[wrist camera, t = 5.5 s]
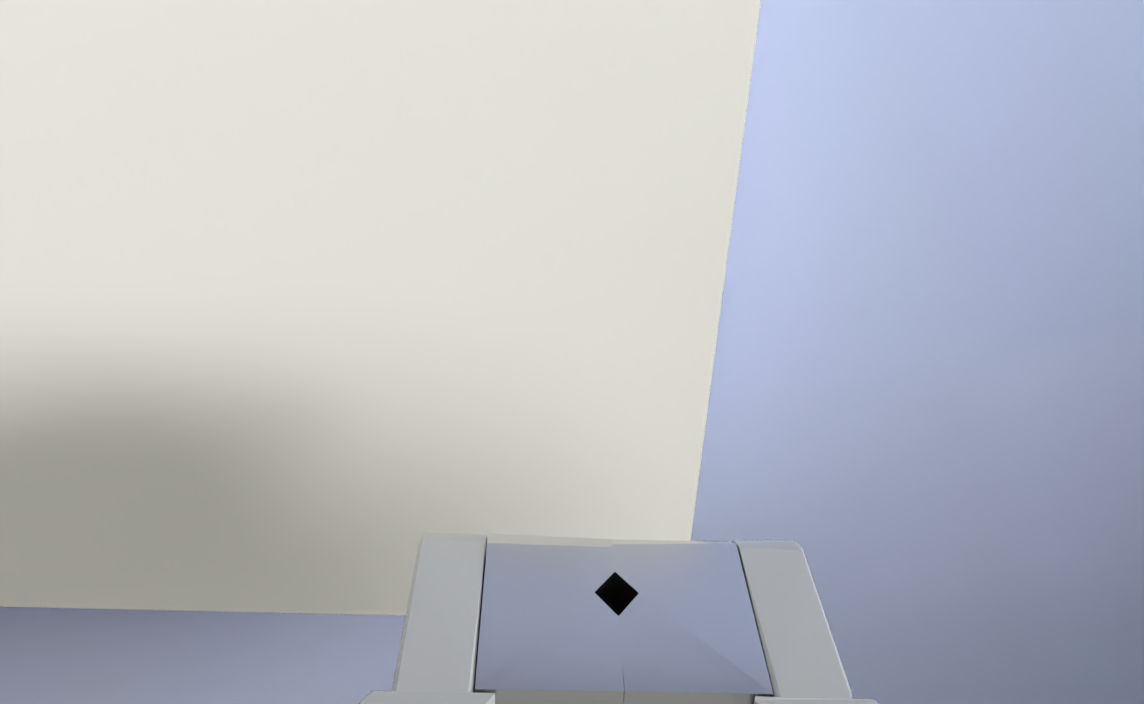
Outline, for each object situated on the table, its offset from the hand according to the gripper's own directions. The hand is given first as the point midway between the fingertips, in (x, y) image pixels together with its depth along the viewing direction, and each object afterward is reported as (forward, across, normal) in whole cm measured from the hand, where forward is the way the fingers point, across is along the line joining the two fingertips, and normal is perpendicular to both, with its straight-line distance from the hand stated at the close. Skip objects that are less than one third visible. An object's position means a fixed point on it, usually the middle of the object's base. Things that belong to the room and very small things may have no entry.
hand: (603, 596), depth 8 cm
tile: (+6, -2, 0) cm, 6 cm away
